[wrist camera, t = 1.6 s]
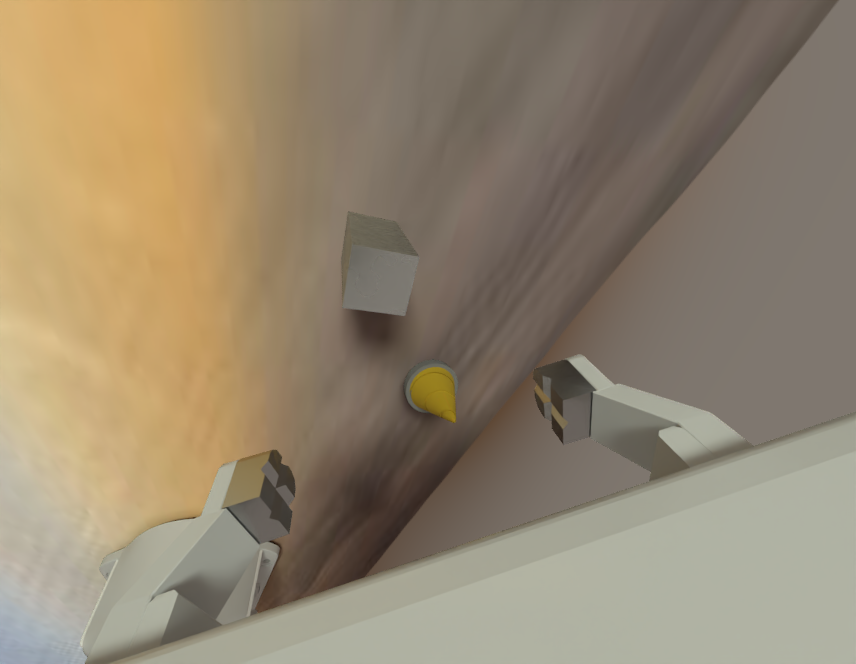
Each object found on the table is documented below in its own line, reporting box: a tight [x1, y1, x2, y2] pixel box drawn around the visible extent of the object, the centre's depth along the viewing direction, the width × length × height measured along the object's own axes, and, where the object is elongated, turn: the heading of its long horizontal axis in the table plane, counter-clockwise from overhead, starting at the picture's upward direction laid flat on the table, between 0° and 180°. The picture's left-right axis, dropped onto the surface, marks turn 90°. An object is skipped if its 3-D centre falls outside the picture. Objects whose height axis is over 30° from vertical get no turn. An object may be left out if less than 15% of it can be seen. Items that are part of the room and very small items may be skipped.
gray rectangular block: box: [341, 211, 419, 316], centre depth 26 cm, size 4×4×10 cm
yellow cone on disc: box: [404, 359, 458, 423], centre depth 33 cm, size 5×5×10 cm
